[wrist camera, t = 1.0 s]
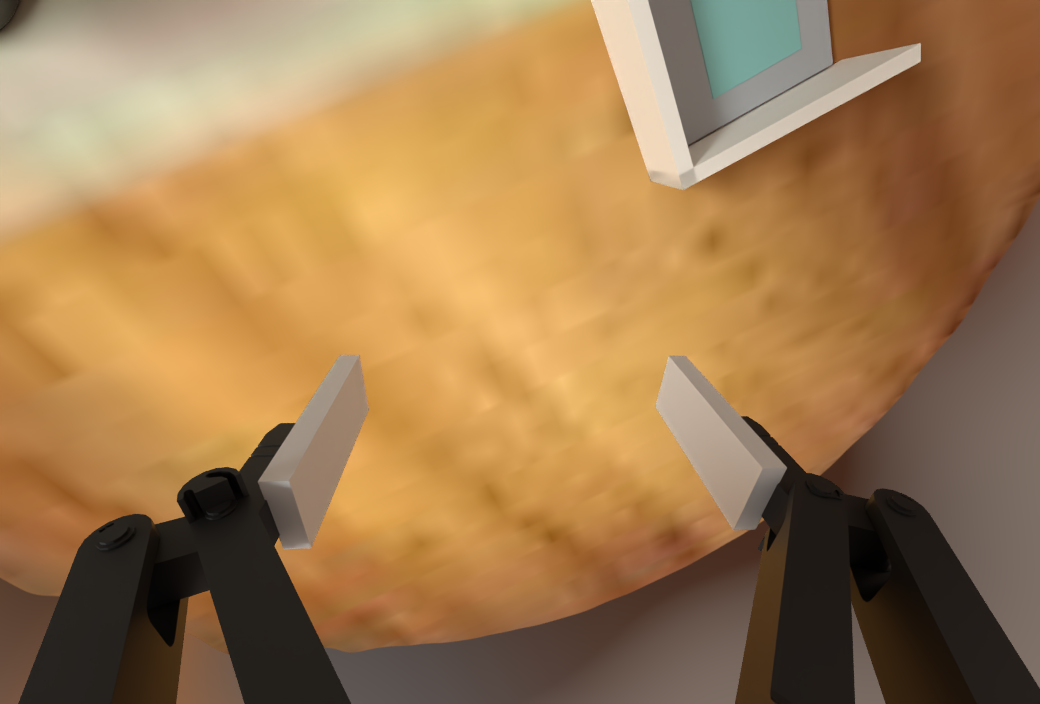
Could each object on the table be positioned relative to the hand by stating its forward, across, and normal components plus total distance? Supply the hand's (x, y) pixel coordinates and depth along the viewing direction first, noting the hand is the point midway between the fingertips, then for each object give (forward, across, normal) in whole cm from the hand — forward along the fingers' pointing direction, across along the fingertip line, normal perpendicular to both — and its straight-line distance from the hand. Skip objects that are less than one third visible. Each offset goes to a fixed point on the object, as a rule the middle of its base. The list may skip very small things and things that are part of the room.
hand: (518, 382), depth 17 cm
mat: (+25, +17, +19) cm, 36 cm away
